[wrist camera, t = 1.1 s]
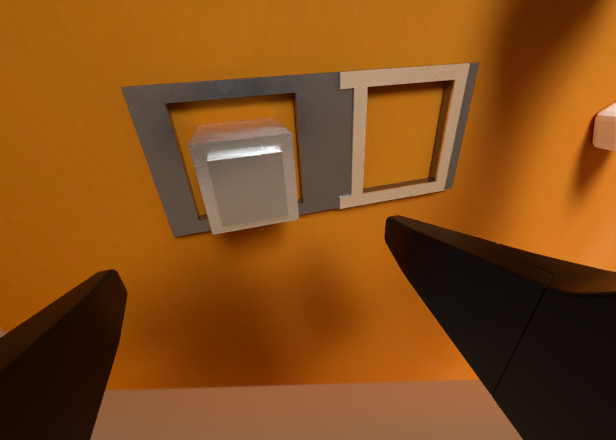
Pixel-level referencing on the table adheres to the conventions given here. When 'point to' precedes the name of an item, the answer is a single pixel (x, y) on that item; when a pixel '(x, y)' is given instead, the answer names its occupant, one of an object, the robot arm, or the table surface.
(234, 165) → the grey upright rectangular block
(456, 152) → the rail
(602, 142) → the pepper shaker
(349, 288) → the table surface
